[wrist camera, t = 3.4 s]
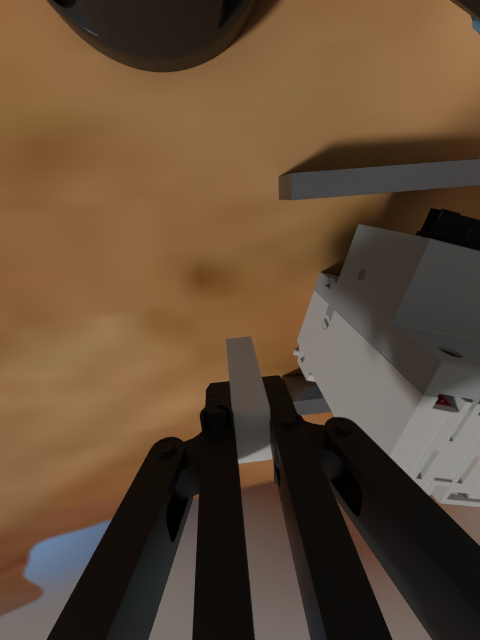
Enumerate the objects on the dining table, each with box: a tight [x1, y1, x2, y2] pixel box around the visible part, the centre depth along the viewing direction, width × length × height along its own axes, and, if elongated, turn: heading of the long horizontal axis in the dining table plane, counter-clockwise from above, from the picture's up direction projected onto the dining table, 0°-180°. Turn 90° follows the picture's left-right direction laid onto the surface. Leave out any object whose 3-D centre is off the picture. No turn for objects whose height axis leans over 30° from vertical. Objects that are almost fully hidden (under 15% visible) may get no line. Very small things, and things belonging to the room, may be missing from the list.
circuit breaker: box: [293, 208, 480, 507], centre depth 20 cm, size 8×14×15 cm, turn 167°
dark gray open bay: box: [279, 159, 480, 415], centre depth 25 cm, size 20×13×4 cm, turn 4°
